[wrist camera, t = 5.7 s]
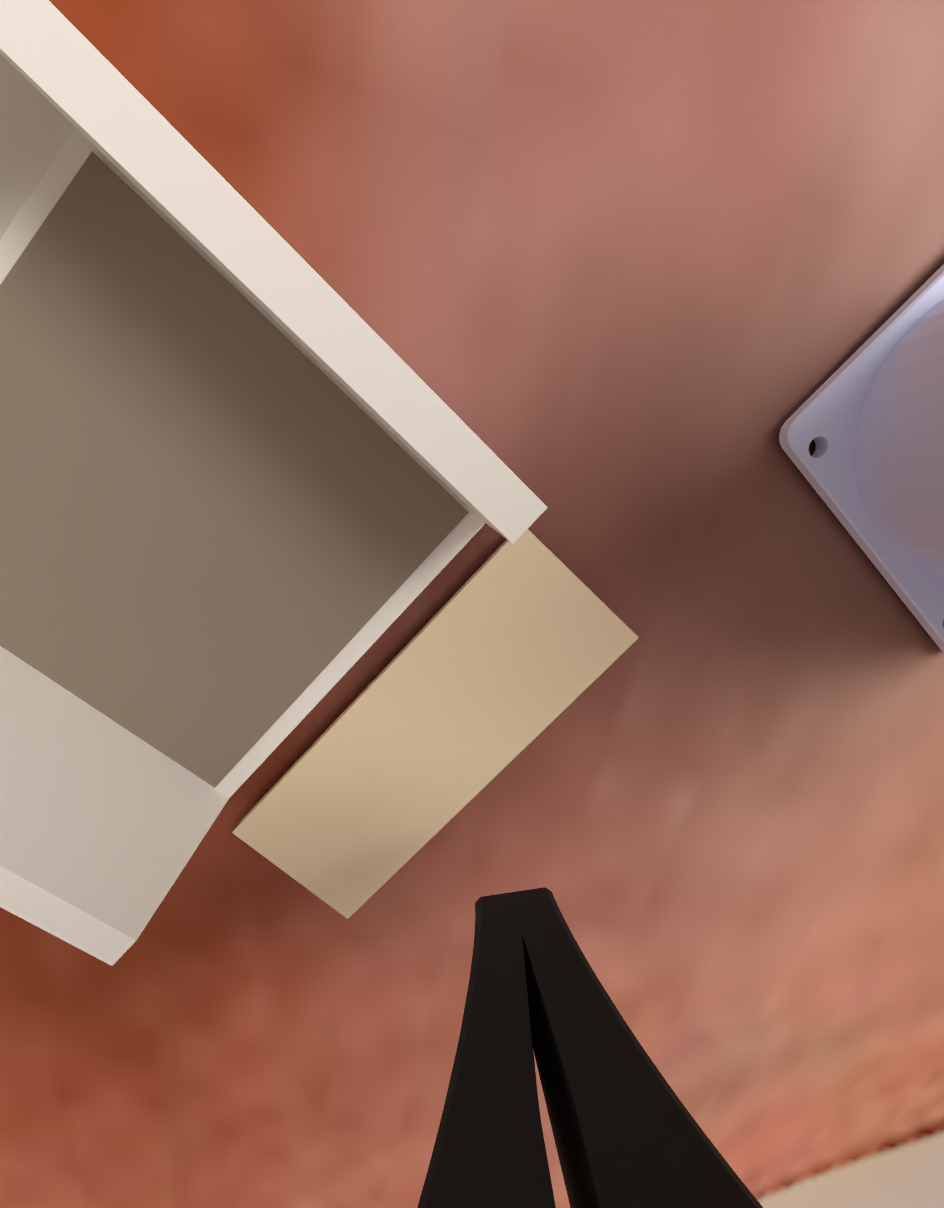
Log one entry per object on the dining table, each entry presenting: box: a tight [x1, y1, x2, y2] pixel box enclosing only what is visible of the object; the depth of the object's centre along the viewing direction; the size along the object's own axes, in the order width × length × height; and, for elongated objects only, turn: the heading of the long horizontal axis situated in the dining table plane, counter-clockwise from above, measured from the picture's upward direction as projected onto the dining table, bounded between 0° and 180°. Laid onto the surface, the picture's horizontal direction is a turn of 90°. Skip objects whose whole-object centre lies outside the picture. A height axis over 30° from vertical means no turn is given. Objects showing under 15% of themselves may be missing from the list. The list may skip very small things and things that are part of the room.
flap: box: [232, 529, 639, 919], centre depth 13 cm, size 1×12×4 cm
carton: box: [0, 0, 548, 966], centre depth 9 cm, size 12×12×5 cm
